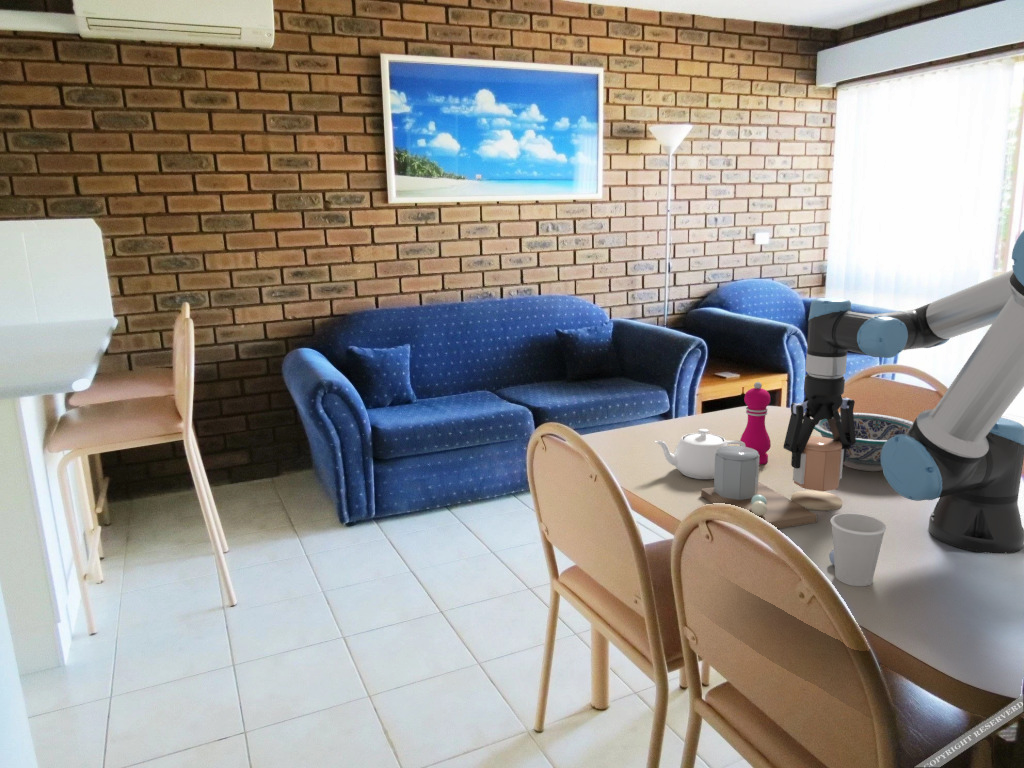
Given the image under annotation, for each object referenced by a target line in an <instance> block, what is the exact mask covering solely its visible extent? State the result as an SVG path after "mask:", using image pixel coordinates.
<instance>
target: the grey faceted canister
mask: <svg viewBox="0 0 1024 768" xmlns="http://www.w3.org/2000/svg"><path fill="white" fill-rule="evenodd" d="M759 457H760V455H759V454H758V451H756V450H754V449H752V448H748V447H743V446H740V445H728V446H725V447H721V448H718V449H717V453H716V454H715V474H714V479H713V483H714V484H713V487H714V492H715V493H717V494H718V495H720V496H721V497H724V498H730V499H737V500H743V499H750V498H752V497H753V496H755V495H756V494H757V493H758V482H759V473H760V465H759Z"/></svg>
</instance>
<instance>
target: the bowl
mask: <svg viewBox="0 0 1024 768" xmlns="http://www.w3.org/2000/svg"><path fill="white" fill-rule="evenodd" d="M839 415H840V418H841V414H840V412H839ZM853 416H854V427H855V437H856V443H855V444H851V448H850V449H846V459H845V462H843V466H845V467H846V468H849V469H853V470H857V471H864V472H880V471H883V468H882V466H881V459H880V457H881V451H882V448H883V446H884V444H885V443H886V441H887V440H889V439H890V438H892V437H894V436H895V435H899V434H905V433H906V432H907V431H908V430H909V428H910V427H911V425H912V424H913V422H914V421H911V420H910V419H904V418H902V417H897V416H892V415H886V414H885V415H884V414H879V413H869V412H854V411H853ZM840 422H841V420H840ZM841 425H842V424H841ZM814 431H817V432H818V433H820V435H821V436H820V437H826V438H831V439H834V437H833V434H832V432H831V429H830V426H829V423H828V420H827V419H823V420H820V421H819V423H818V424H817V425H815V427H814Z"/></svg>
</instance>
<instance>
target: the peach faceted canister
mask: <svg viewBox="0 0 1024 768" xmlns="http://www.w3.org/2000/svg"><path fill="white" fill-rule="evenodd" d="M803 453H804V454H806V463H805V477H804V484H799V483H797V482H795V481H794V480H793V484H794V485H797V486H798V487H801V488H802V489H804V490H816V491H823V492H829V491H835V490H838V489H839V487H840V481H841V479H840V469H841V457H842V444H841V443H840V442H839V441H837V440H834V439H831V438H826V437H822V436H813V435H811V436H810V438H809V440H808V442H807V444H806V447H805V449H804V451H803Z"/></svg>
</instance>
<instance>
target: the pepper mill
mask: <svg viewBox="0 0 1024 768" xmlns="http://www.w3.org/2000/svg"><path fill="white" fill-rule="evenodd" d="M762 386H763V385H762V382H759V381H757V382H754V385H753V387H754V388H753V387H752V388H750V389H748V390H747V391H746V393H745V394H744V397H743V399H744V400H743V401H744V403H745V405H746V406H747V407H745V409H746V411H745V413H746V414H747V421H746V422H747V424H746V427H745V429H744V430H743V432H742V434H741V437H740V440H739V441H742V442H744V443H745V445H746V447H748V448H752V449H754V450H756V451H758V454H759V455H760V457H759V466H761V465H766V464H767V463H768V462H769V454H768V453H767V452H768V451H770V449H771V447H772V445H771V444H772V443H771V438H770V435H769V433H768V431H767V427H766V416H767V415H768V408H767V407H768V406H769V405H770V403H771V395H770V393H769V391H767V390H766V389H764V388H762ZM739 446H741V445H740V444H739Z"/></svg>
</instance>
